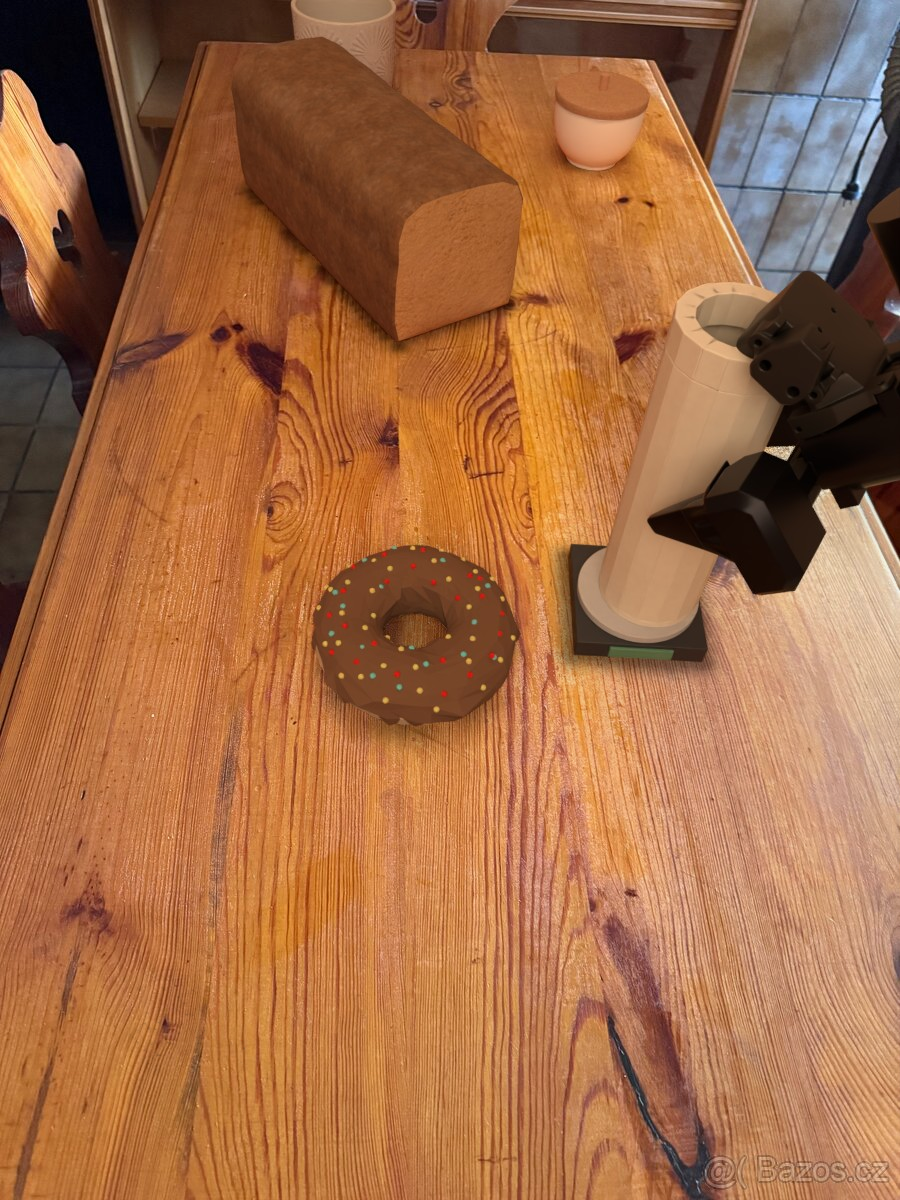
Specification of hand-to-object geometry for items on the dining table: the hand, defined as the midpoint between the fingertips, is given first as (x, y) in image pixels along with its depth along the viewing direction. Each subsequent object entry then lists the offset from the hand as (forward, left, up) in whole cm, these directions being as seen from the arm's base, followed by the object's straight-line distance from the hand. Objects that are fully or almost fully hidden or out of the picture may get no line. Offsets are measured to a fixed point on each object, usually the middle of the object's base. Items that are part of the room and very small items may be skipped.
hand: (683, 480), depth 54 cm
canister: (0, 0, -11) cm, 11 cm away
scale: (0, 0, -13) cm, 13 cm away
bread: (+53, 0, -13) cm, 54 cm away
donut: (+3, +16, -13) cm, 21 cm away
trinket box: (+61, -33, -13) cm, 70 cm away
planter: (+85, -11, -13) cm, 86 cm away
